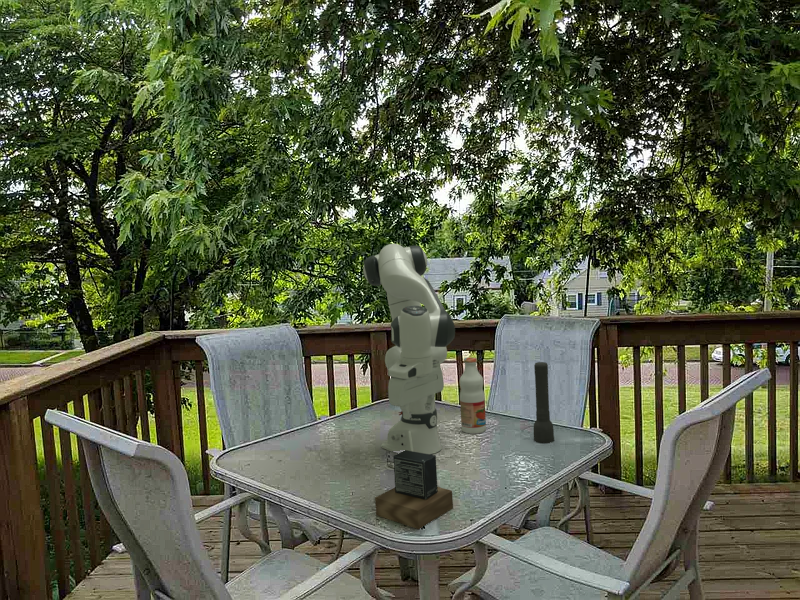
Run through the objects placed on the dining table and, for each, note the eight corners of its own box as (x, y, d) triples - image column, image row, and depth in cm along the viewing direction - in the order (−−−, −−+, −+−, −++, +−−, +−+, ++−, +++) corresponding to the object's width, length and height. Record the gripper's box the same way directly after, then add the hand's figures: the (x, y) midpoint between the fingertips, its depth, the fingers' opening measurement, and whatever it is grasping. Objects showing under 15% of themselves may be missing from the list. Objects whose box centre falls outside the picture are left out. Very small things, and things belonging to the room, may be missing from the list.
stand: (376, 515, 168) (374, 497, 168) (411, 496, 180) (410, 479, 179) (418, 529, 159) (417, 510, 158) (453, 508, 170) (452, 490, 170)
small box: (439, 491, 169) (437, 454, 168) (426, 500, 164) (424, 462, 163) (407, 484, 176) (405, 448, 175) (394, 492, 170) (392, 455, 169)
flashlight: (556, 442, 218) (551, 436, 225) (553, 364, 215) (548, 360, 222) (536, 443, 218) (531, 437, 225) (533, 365, 215) (528, 361, 222)
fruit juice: (463, 426, 243) (460, 356, 241) (487, 426, 241) (484, 356, 238) (459, 433, 234) (455, 361, 232) (484, 434, 232) (480, 361, 229)
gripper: (430, 357, 180) (432, 403, 182) (383, 371, 165) (385, 421, 166) (448, 359, 176) (449, 406, 178) (401, 374, 161) (403, 425, 162)
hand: (418, 414), depth 172 cm, fingers open, 8 cm apart
